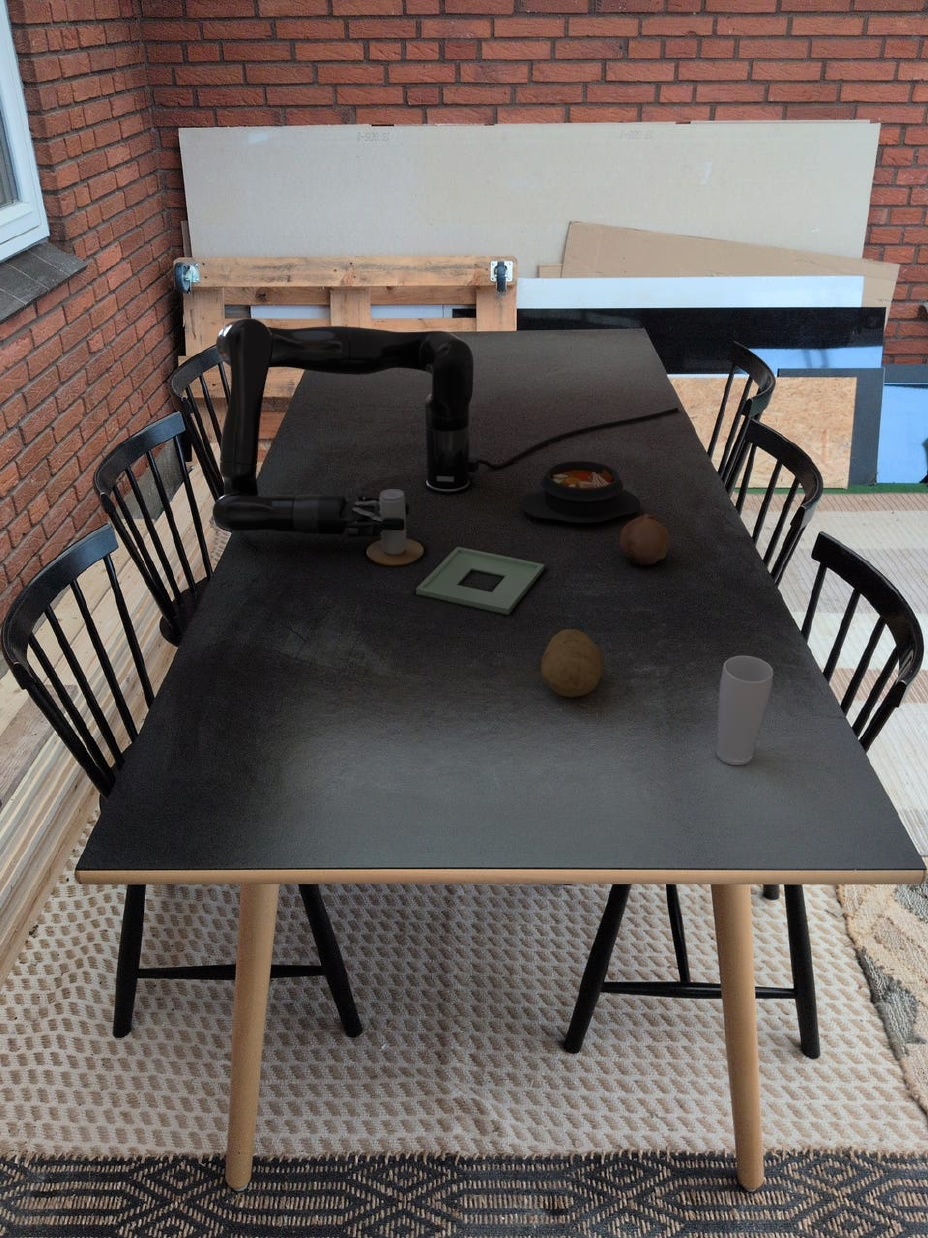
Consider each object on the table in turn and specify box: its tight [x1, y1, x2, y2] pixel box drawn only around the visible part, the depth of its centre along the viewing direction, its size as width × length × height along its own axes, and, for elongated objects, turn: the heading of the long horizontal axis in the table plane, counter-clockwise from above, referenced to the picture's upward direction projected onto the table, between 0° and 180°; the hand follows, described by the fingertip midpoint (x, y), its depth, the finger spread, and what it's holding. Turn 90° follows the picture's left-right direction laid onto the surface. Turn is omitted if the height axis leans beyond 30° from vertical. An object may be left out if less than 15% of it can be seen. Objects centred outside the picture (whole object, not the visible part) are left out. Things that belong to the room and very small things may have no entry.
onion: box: [619, 513, 671, 567], centre depth 196 cm, size 10×9×10 cm
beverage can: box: [379, 488, 407, 555], centre depth 198 cm, size 5×5×12 cm
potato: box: [540, 628, 604, 698], centre depth 160 cm, size 10×14×8 cm
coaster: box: [366, 537, 424, 566], centre depth 201 cm, size 11×11×1 cm
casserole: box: [520, 460, 641, 524], centre depth 215 cm, size 25×19×8 cm
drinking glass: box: [714, 655, 774, 766], centre depth 144 cm, size 7×7×15 cm
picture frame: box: [415, 546, 545, 616], centre depth 191 cm, size 18×18×1 cm
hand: (406, 516), depth 197 cm, fingers open, 6 cm apart
